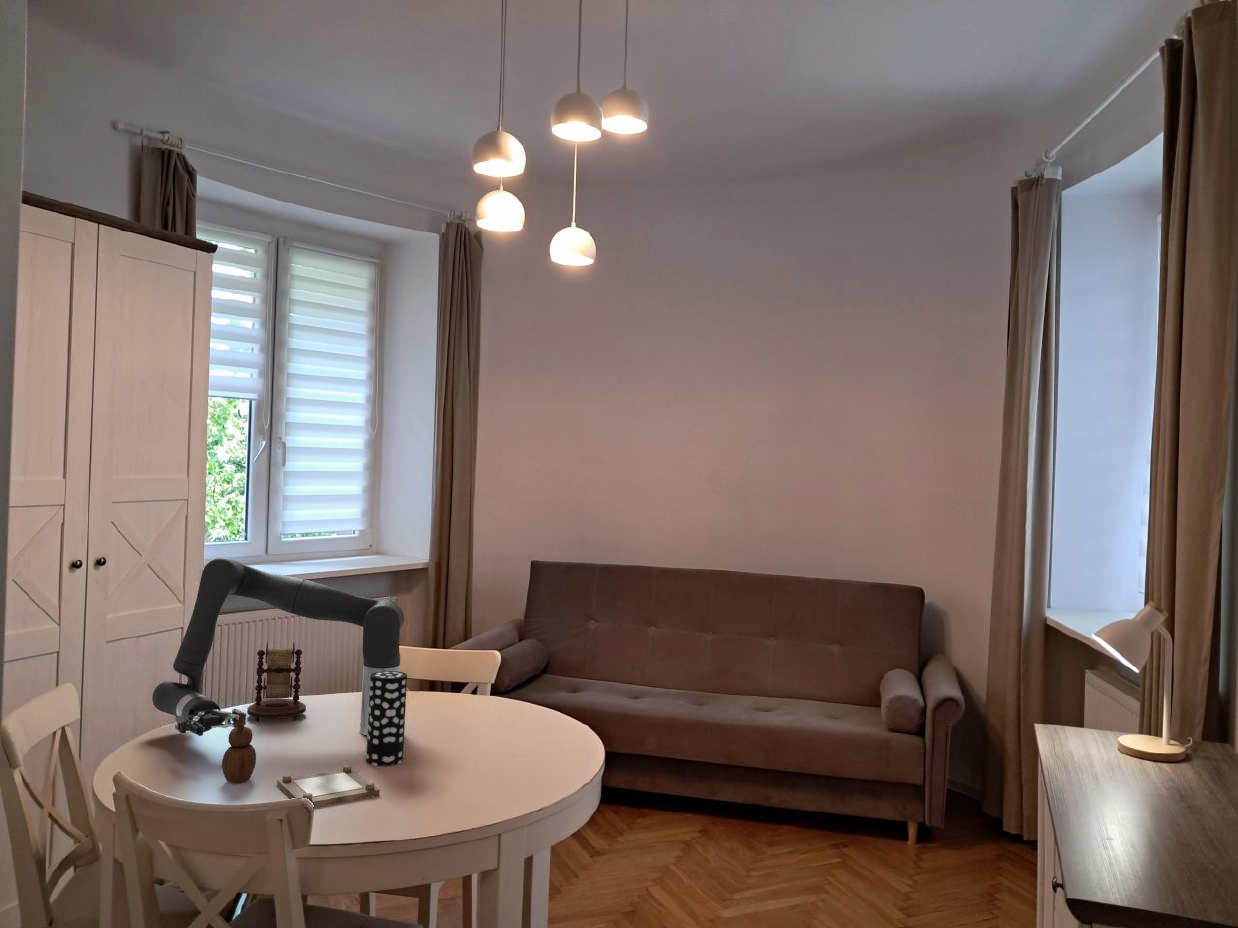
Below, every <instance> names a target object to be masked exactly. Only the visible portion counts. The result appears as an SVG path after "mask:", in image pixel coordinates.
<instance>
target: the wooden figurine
mask: <svg viewBox="0 0 1238 928" xmlns="http://www.w3.org/2000/svg"><path fill="white" fill-rule="evenodd" d="M252 741H253V731H252V729H251V728H250V727H247V726H245V725H244V719H243V717H242V713H241V712H240V713H239V720H238V727H236V728H234V727H233V728H232V729H231V731H230V732H229V733H228V744H229V745H230V746H229V747H228V748H227V750H226V751H224V754H223V755H222V761H221V769H222V774H223V776H224V778H225V780H226V781H227V783H231V784H242V783H244V782H247V781H248V780H250V778H251V777H252V775H253V773H254V770H255V768H256V763H257V753H256V749H255V747H254V746H253V744H251V743H252Z"/></svg>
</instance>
